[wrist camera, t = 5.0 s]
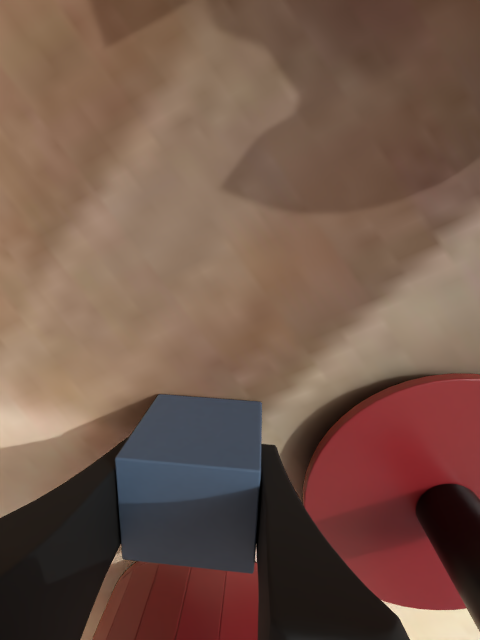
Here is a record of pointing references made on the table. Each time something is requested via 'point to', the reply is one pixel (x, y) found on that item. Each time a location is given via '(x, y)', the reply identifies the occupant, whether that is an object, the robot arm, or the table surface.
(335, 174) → the table surface
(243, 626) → the tin
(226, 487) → the block
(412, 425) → the tin lid
